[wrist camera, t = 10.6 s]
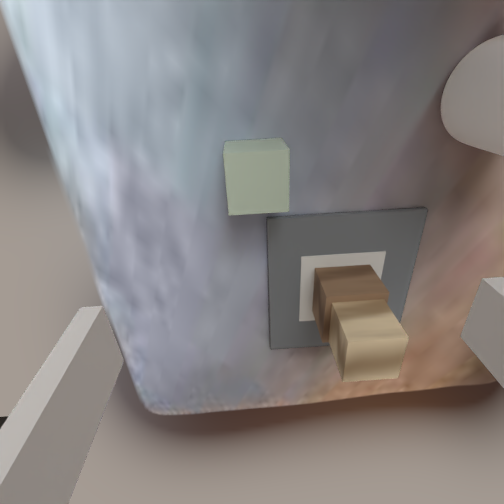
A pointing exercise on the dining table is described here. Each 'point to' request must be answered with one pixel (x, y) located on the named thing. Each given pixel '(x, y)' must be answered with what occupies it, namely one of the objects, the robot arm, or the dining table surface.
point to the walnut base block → (343, 291)
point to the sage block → (257, 176)
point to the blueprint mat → (335, 262)
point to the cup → (477, 98)
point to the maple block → (366, 340)
